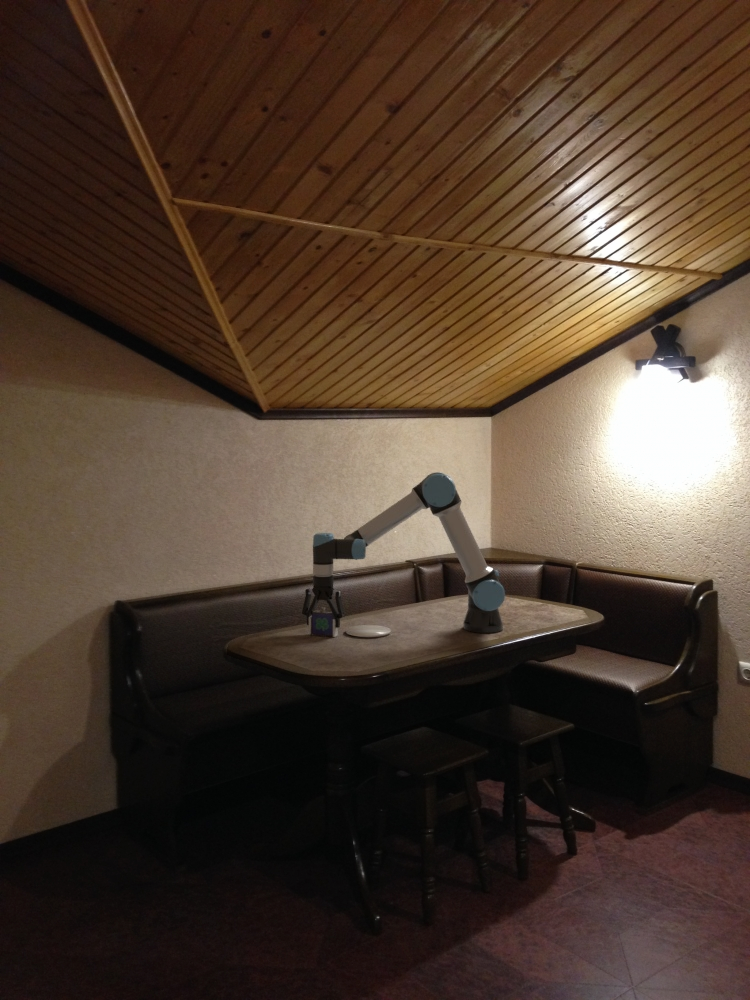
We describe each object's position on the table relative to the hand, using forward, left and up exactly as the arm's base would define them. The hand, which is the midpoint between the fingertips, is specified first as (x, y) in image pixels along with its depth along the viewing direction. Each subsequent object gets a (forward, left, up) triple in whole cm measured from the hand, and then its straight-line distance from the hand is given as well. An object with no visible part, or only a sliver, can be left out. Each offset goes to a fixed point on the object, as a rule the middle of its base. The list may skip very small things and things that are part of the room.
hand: (323, 634), depth 306 cm
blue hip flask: (0, 0, -1) cm, 1 cm away
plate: (-14, -10, 0) cm, 17 cm away
